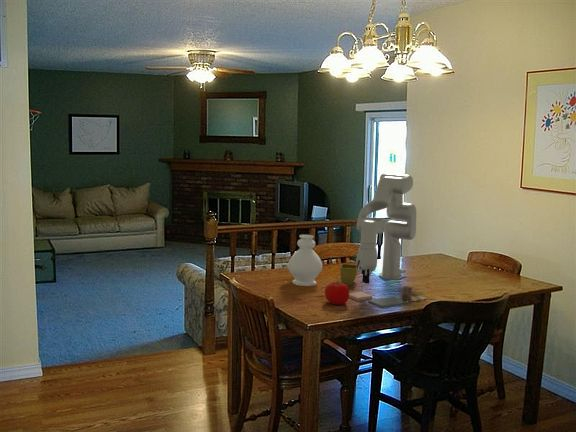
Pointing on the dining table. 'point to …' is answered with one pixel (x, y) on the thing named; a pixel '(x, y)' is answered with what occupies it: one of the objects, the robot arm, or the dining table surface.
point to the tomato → (337, 293)
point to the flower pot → (348, 273)
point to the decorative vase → (305, 262)
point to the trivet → (387, 302)
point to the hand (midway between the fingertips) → (365, 282)
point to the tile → (360, 296)
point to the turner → (408, 292)
